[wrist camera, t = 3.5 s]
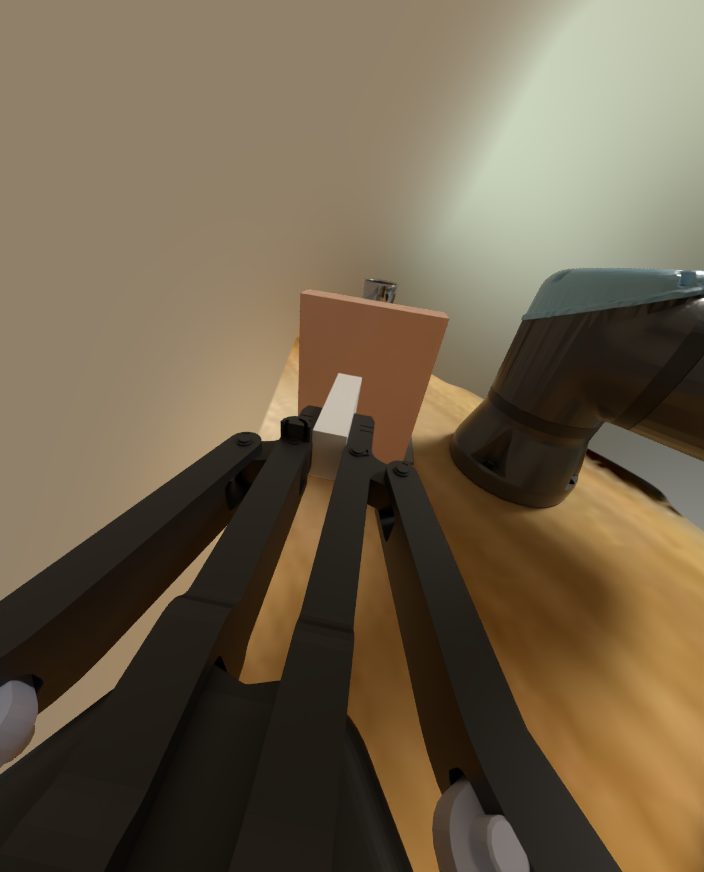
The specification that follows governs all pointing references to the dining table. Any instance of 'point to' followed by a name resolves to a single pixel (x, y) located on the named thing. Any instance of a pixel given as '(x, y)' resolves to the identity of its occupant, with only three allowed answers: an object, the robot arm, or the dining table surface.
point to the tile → (370, 360)
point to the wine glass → (379, 290)
